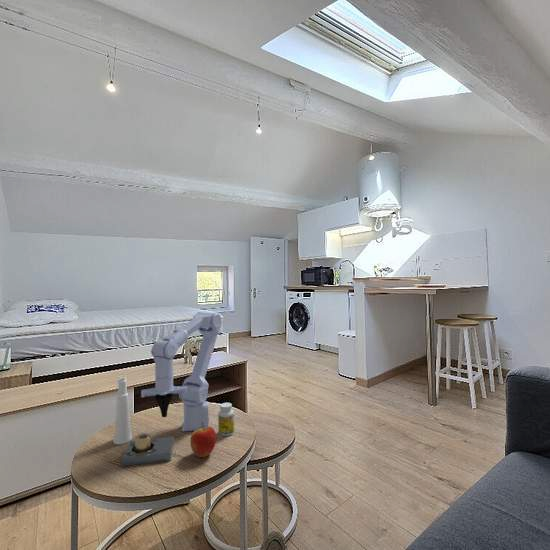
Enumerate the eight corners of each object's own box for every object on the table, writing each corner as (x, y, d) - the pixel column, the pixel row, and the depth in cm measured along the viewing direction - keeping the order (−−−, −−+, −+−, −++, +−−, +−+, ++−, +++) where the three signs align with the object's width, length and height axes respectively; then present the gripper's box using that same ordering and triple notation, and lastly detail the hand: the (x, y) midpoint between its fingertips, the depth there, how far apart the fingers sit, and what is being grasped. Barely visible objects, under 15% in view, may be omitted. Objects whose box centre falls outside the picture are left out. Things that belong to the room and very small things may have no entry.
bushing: (151, 450, 104) (151, 432, 104) (149, 458, 99) (149, 439, 99) (137, 452, 103) (137, 433, 103) (133, 460, 98) (133, 440, 98)
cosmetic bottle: (109, 442, 109) (108, 378, 109) (124, 434, 115) (124, 373, 115) (121, 446, 106) (120, 381, 107) (135, 438, 112) (135, 376, 112)
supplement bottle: (236, 430, 117) (236, 402, 117) (230, 437, 112) (229, 408, 112) (222, 428, 119) (222, 400, 119) (215, 435, 113) (215, 406, 113)
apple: (193, 465, 95) (193, 432, 96) (188, 451, 103) (188, 421, 103) (219, 458, 99) (218, 426, 99) (212, 445, 106) (212, 416, 106)
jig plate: (173, 444, 108) (173, 436, 108) (170, 460, 98) (170, 452, 98) (130, 448, 105) (130, 441, 105) (121, 466, 95) (121, 458, 95)
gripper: (139, 381, 102) (139, 423, 102) (185, 378, 105) (185, 418, 105) (143, 374, 109) (143, 414, 109) (186, 371, 112) (187, 410, 112)
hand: (164, 415), depth 107 cm, fingers closed
